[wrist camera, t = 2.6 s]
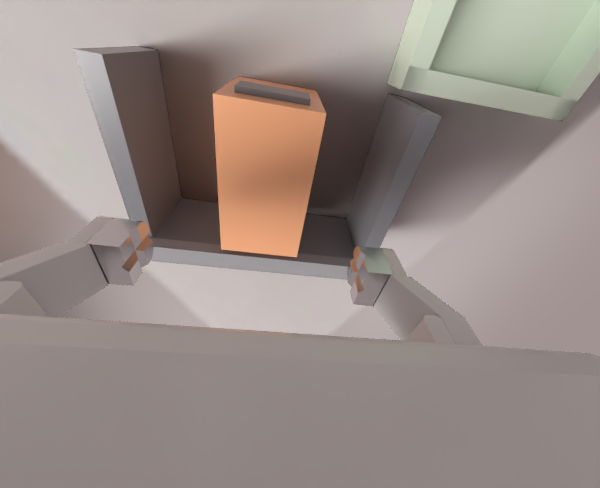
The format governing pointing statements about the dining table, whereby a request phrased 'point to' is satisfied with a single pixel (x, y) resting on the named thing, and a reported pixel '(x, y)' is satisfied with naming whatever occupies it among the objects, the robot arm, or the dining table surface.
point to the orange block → (265, 163)
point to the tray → (501, 53)
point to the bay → (205, 215)
